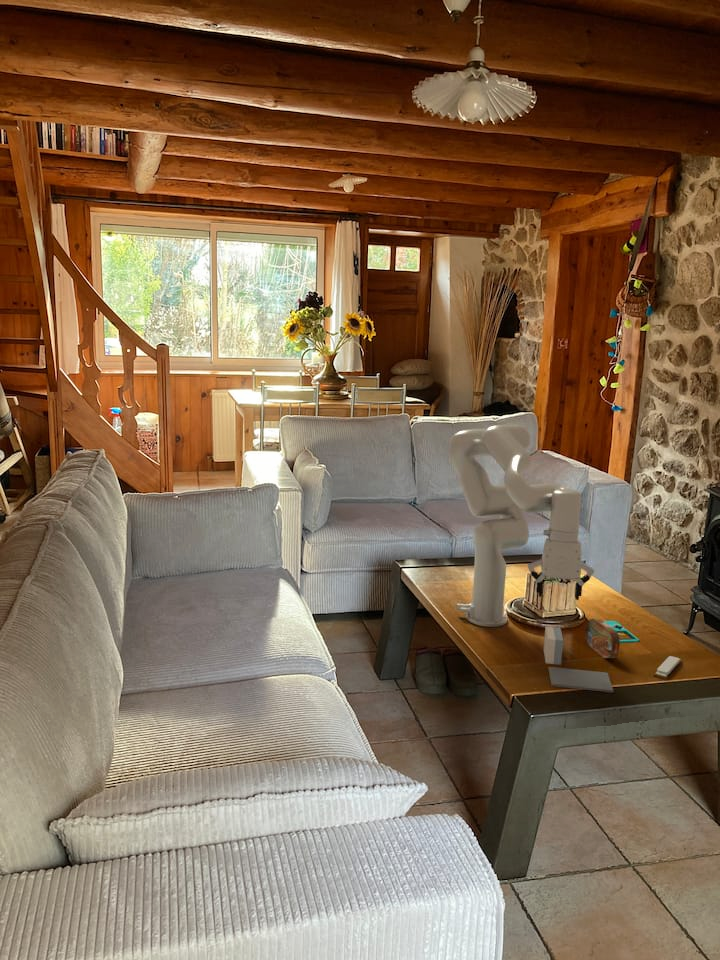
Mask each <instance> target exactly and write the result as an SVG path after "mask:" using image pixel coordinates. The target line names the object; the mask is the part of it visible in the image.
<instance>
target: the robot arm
mask: <svg viewBox="0 0 720 960" xmlns="http://www.w3.org/2000/svg"><path fill="white" fill-rule="evenodd" d="M530 444H531V437H530V434H529V432H528V430H527V429H526V428H525V427H524V426H523V425H522V424H521V425H520V424H496V425H492V426H489V427H488V428H475V429H474V428H473V429H464V430H463V429H462V430H460V431H458V432H456V433H454V435H452V437H451V439H450V442H449V447H448V454H449V458H450V461H451V464H452V466H453V469H454V470H455V472H456V474H457V477H458V479H459V481H460V485H461V488H462V490H463V491H462V492H463V494H464V498H465V500H466V503H467V505H468V509H469V511H470V513H471V514H472V516H473V517H475V518H478V519H480V518H492V519H487V520H486V519H485V520H483V521H481V522H479V523H477V524H476V525H475V527H474V528H473V533H472V539H473V548H474V565H473V567H474V568H473V581H472V583H473V584H472V598H471V601H470V603H467V604H464V603H456V604H457V605H456V610H457V611H458V610H459V611H460V613H466V614H465V619H466V620H467V621H468V622H469V623H471V624H474V625H476V626H480V627H487V628H495V627H501V626H504V625H506V624H507V623H508V616H507V615H506V614H505V613H504V600H505V599H504V598H505V588H506V578H507V577H506V575H507V563H506V561H505V559H504V556H503V554H502V551H506V550H512V549H513V550H514V549H518V548H519V549H520V548H522V547H524V546H525V545H527V543H528V541H529V540H530V539H529V537H530V530H529V526H528V522H527V520H526V517H525V514H524V513H529V514H534V513H541V512H543V513H544V512H550V518H549V527H548V529H543V532H542V533H543V535H544V536H547V538H545V542H544V545H543V550H542V556H541V558H539V559H537V560H535V561H533V562H530V563H528V564H527V568H528V571H529V572H530V575H531V577H533V578H534V580H535V581H536V590H535V591H536V593H538V597H539V598H542V596H543V589H544V588H543V587H544V586H543V585H544V583H543V580H545V578H547V579H548V578H549V579H561V580H574V581H576V582H575V589H574V590H575V591H574V598H575V600H576V601H579V599H580V597H582V593H583V586H584V584H586V583H587V582H588V581H589V580H590V579H591V577H592V576H593V574H594V573H595V570H594V568H593V567H590V566H589V565H587V564H586V563H584V562H583V561H582V556H583V555H582V543H581V541H580V540H579V529H580V519H581V518H580V517H581V507H582V494H581V492H579V490H575V489H571V488H566V487H565V486H563V485H562V484H560V483H555V482H554V483H537V484H529V483H528V482H527V481H525V479H524V478H523V477H522V475H523V474H524V473H525V472H526V471H527V470H528V469H529V468H530V466H531V464H532V456H531V454H530V453H529V452H528V451H527V450H528V448H529V447H530ZM476 457H492V458H493V460H495V461H496V463H497V464H498V465H499V466H500V468H501V469H502V470H503V471H504V475H503V476H504V477H503V478H504V479H503V481H504V482H503V483H504V484H497V485H493V484H492V483H491V482H490V479H489V476H488V472H487V471H486V469H485V468H484V466H483V465H482V464H481V463H480V462H479V461H477V460H476ZM493 517H499V518H493ZM537 567H540V569H541V571H540V572H539V573H538V572H536V570H535V568H537ZM582 569H583V571H586V574H584V575H583V576H582V577H581V574H582Z"/></svg>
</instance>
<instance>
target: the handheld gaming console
mask: <svg viewBox="0 0 720 960" xmlns="http://www.w3.org/2000/svg"><path fill="white" fill-rule="evenodd" d="M603 621H604V622H605V623H607V624H608V625H609V626H611V627H612V628H613V629H615V630H616V632H617V633H618V636H619V639H620V643H638V642H639V640H640V639H639V638H638V637H637V636H636V635H634V634H633V633H631V631H629V630H628V629H627V628H625V627H624V626H623V625H621V624H620V623H619V622H617V621H615V620H603ZM626 634H627V635H628V636H629V637H630V638H620V637H622V636H623V635H624V636H626Z"/></svg>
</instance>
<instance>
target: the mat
mask: <svg viewBox="0 0 720 960" xmlns="http://www.w3.org/2000/svg"><path fill="white" fill-rule="evenodd" d="M548 673H549V679H550V685H551V687H557V688H558V687H559V688H569V689H577V690H578V689H579V690H586V691H587V690H588V691H597V692H603V693H604V692H605V693H614V688H613V686H612V682H611V679H610V676H609V673H608V672H604V671H602V672H601V671H594V670H593V671H592V670H583V669H573V668H565V667H564V668H563V667H556V666H555V667H554V666H548Z"/></svg>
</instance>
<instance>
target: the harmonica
mask: <svg viewBox="0 0 720 960" xmlns="http://www.w3.org/2000/svg"><path fill="white" fill-rule="evenodd" d="M682 661H683V659H682V658H679V657H676V656H672V655H669V656H668V657H666V658H665V660H664V661H663V662H662V663H661V664H660V666H659V667H658V668H657V671H656V672H655V673H654V675H653V677H654V678H658V679H661V680H665V681H666V680H667V679H668V677H669V676H670V675H671V674H672V673H674V671H675V670H676V669H677V667H679V665H680V664H681V663H682Z"/></svg>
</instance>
